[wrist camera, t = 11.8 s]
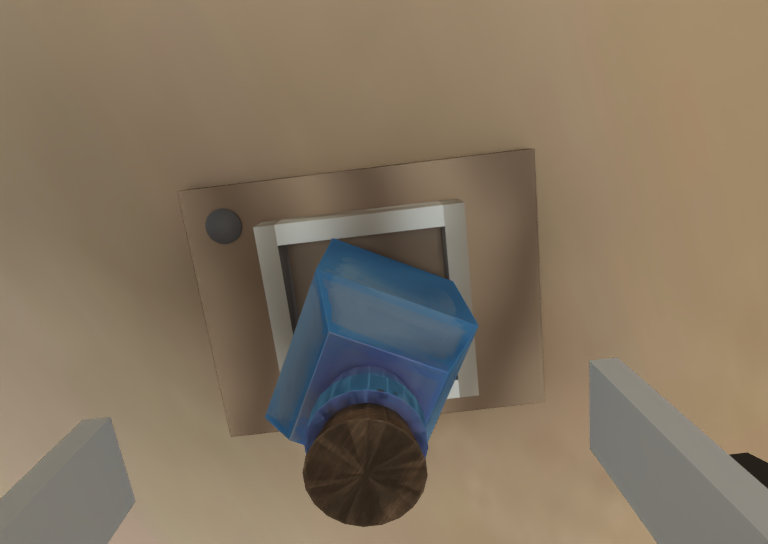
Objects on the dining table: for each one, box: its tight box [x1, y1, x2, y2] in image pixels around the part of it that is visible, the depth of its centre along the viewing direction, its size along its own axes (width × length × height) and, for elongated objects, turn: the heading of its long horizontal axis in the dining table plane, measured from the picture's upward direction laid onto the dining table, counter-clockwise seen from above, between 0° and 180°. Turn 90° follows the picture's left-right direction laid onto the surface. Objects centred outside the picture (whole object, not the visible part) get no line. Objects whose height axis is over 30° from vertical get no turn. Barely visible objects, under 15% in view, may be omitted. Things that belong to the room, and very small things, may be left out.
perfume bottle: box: [265, 238, 479, 527], centre depth 18 cm, size 6×6×12 cm
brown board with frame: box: [178, 149, 545, 437], centre depth 25 cm, size 18×14×3 cm
